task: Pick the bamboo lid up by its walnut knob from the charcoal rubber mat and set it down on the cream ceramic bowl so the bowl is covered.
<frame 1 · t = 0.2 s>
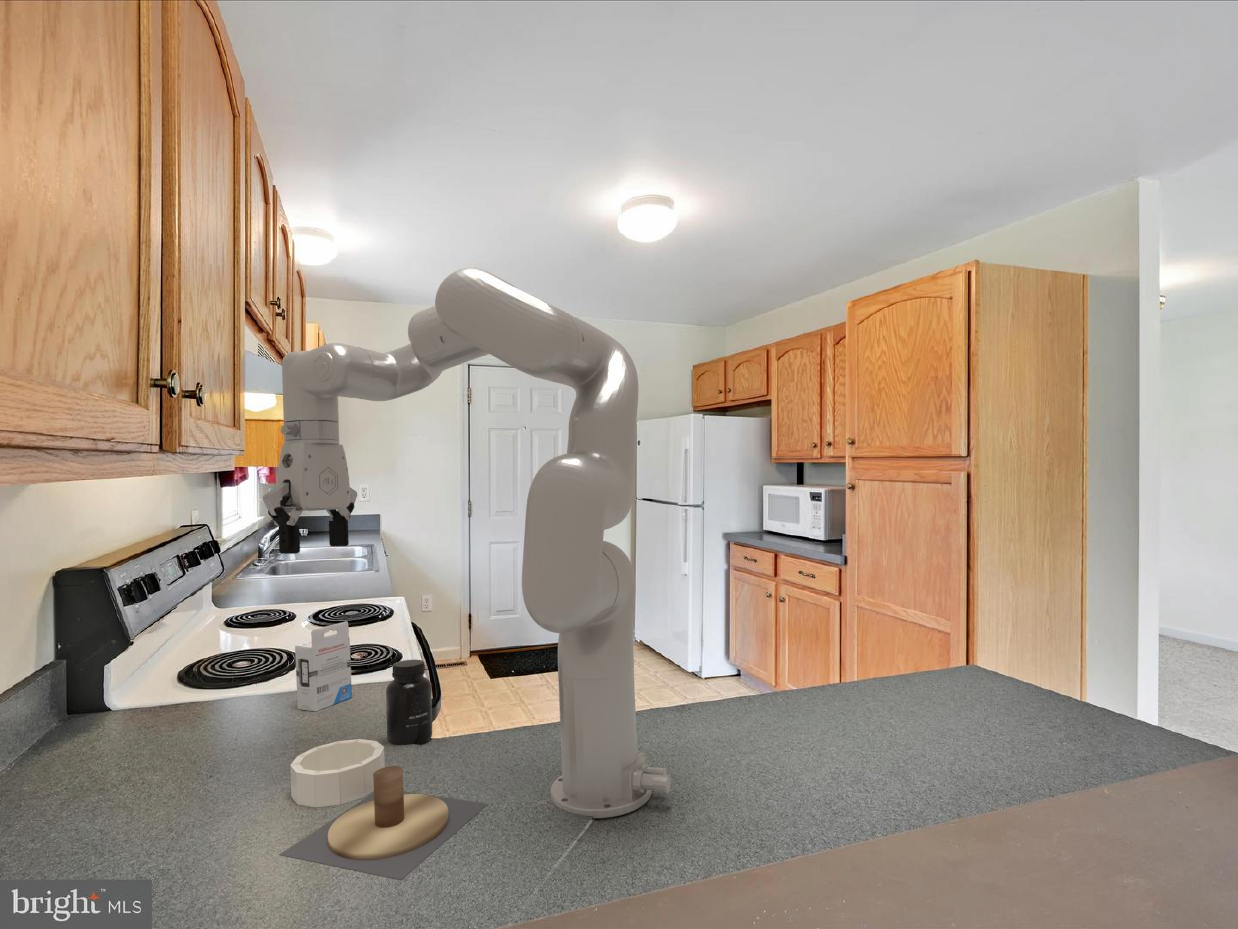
hand: (315, 549, 99), 31 cm above the counter, fingers open, 9 cm apart
mat: (390, 833, 76), on the counter
bowl: (339, 790, 88), on the counter
lid: (390, 827, 76), point 1 cm above the counter, touching mat
ink box: (325, 704, 124), on the counter
supplement bottle: (410, 741, 104), on the counter
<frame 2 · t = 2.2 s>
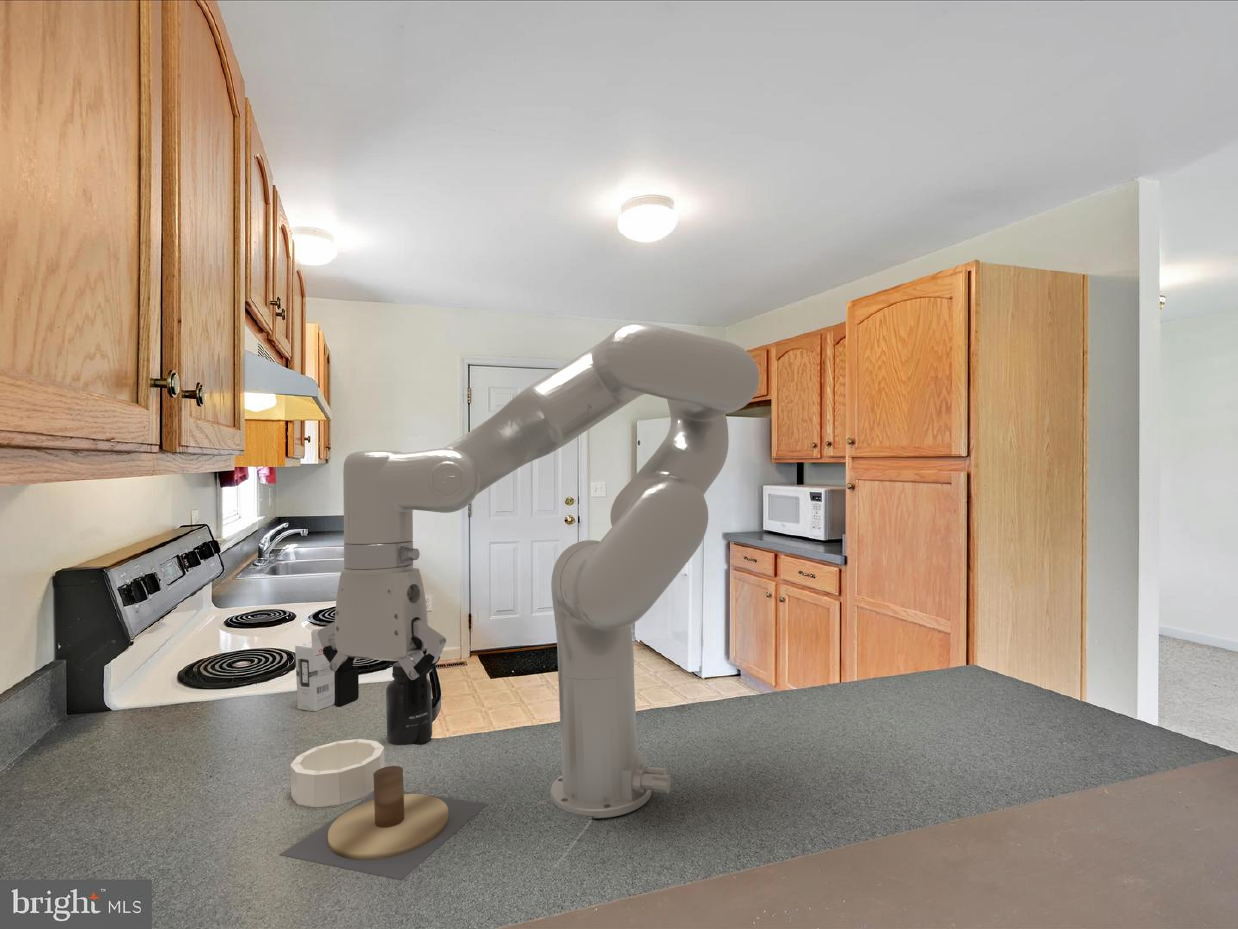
hand: (380, 707, 76), 14 cm above the counter, fingers open, 9 cm apart
nothing on the counter moved.
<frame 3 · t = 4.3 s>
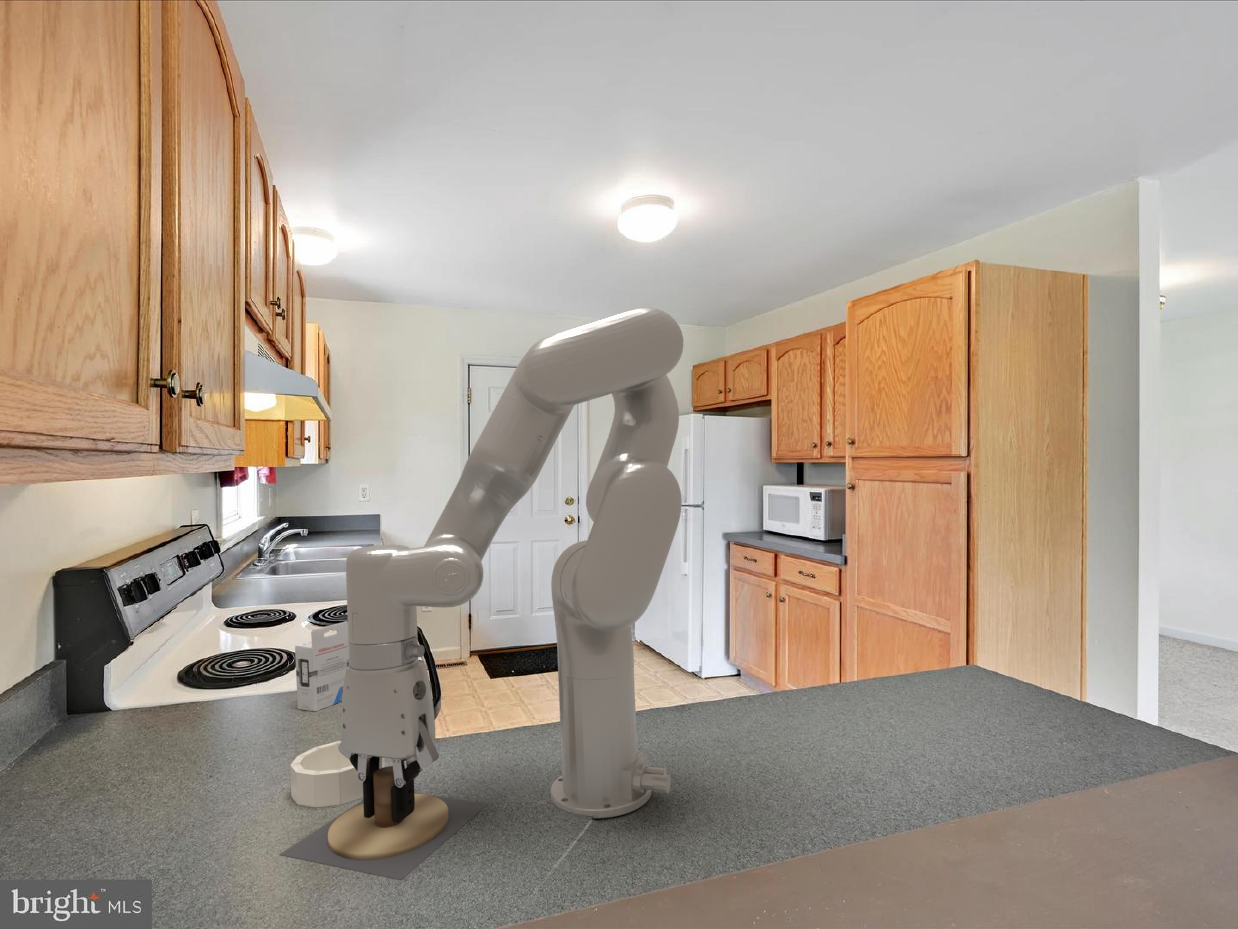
hand: (389, 813, 76), 2 cm above the counter, fingers closed on lid, 3 cm apart
lid: (390, 827, 76), point 1 cm above the counter, touching gripper, mat
everything else where it was.
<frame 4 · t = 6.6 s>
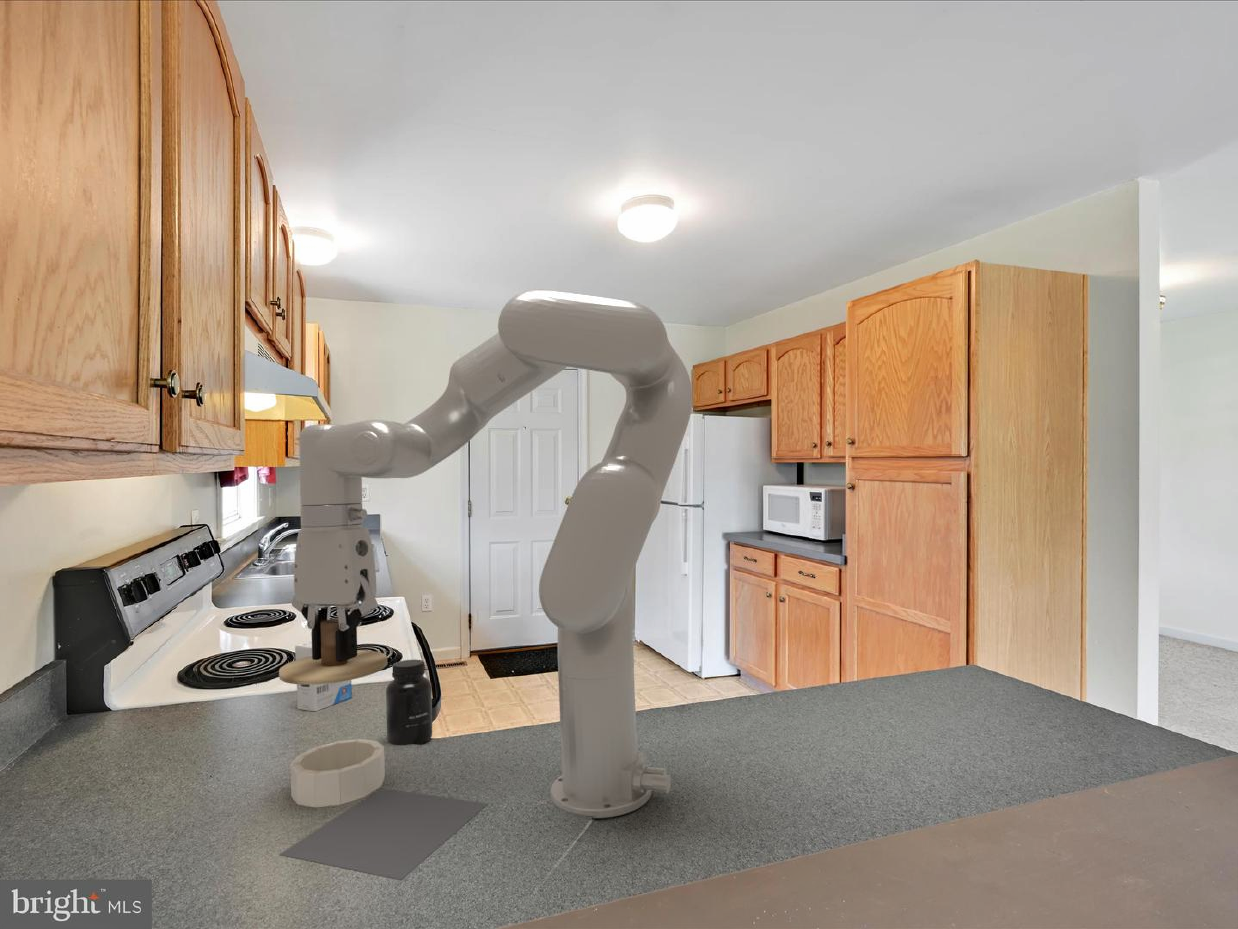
hand: (334, 656, 87), 18 cm above the counter, fingers closed on lid, 3 cm apart
lid: (334, 669, 87), point 16 cm above the counter, touching gripper
everything else where it was.
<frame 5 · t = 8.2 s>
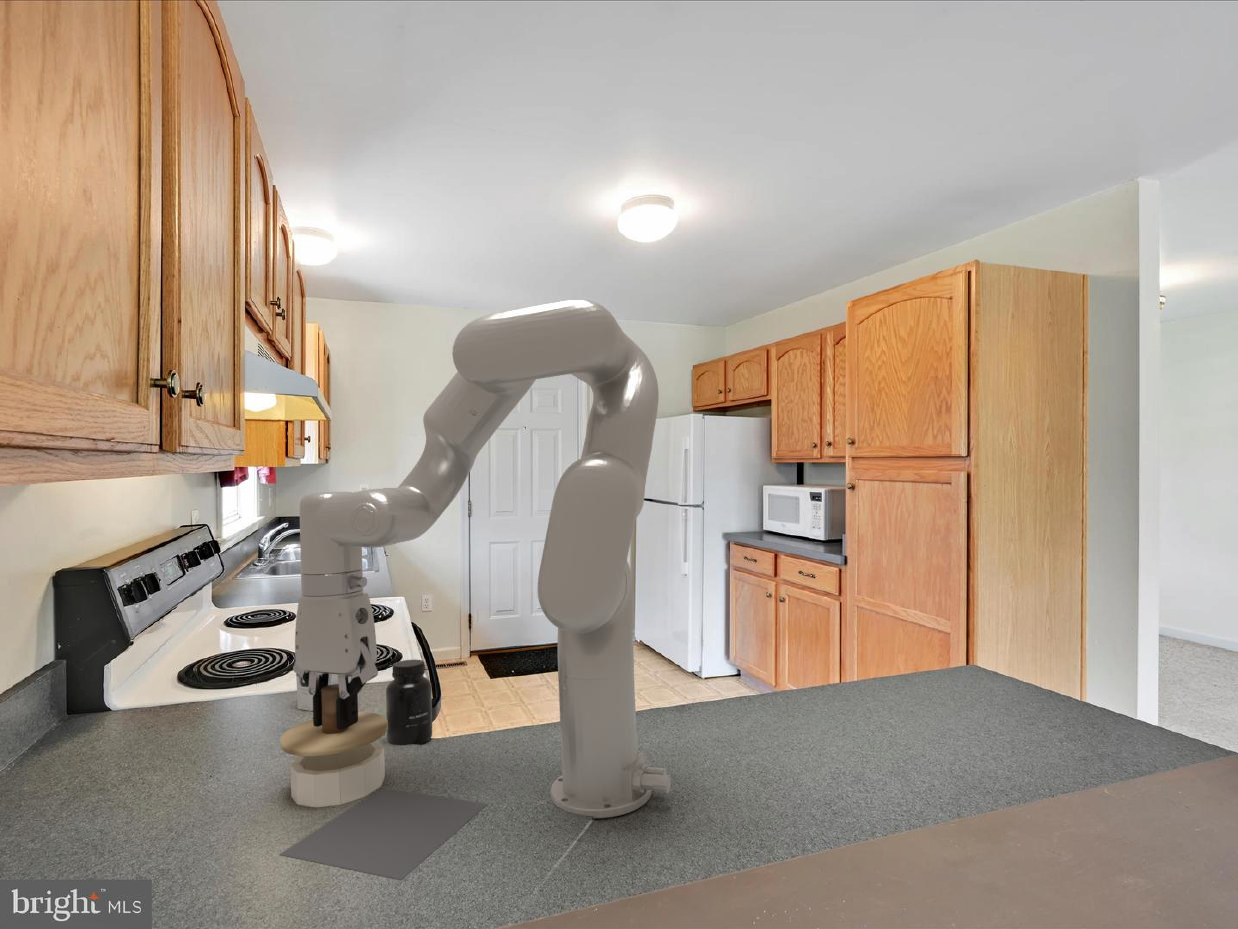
hand: (335, 723, 88), 9 cm above the counter, fingers closed on lid, 3 cm apart
lid: (335, 735, 88), point 7 cm above the counter, touching gripper
everything else where it was.
when the fingers open (7 cm above the counter, at t = 9.2 s): lid drops 1 cm, resting on bowl.
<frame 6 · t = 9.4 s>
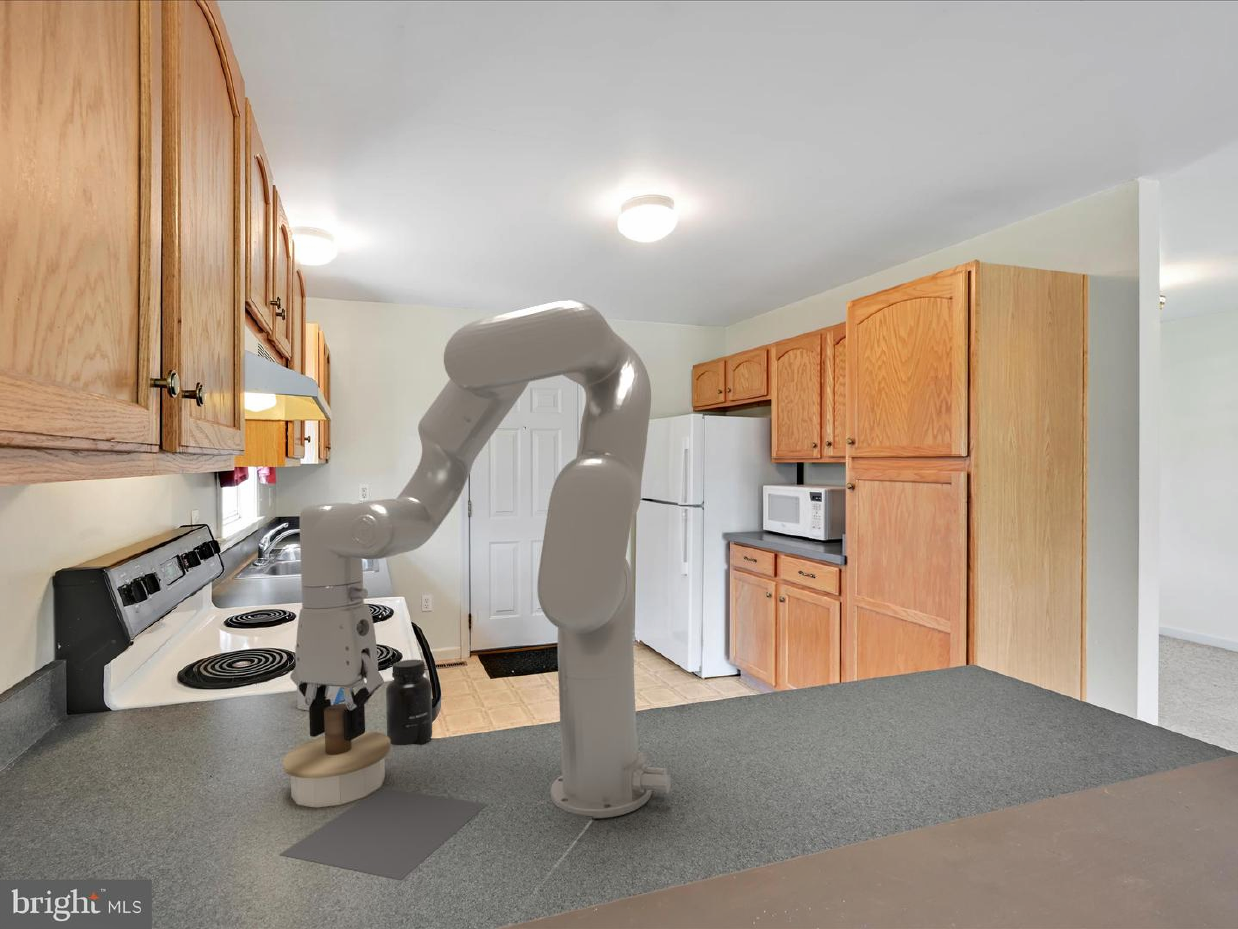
hand: (337, 733, 88), 7 cm above the counter, fingers open, 5 cm apart
lid: (338, 756, 88), point 4 cm above the counter, touching bowl
everything else where it was.
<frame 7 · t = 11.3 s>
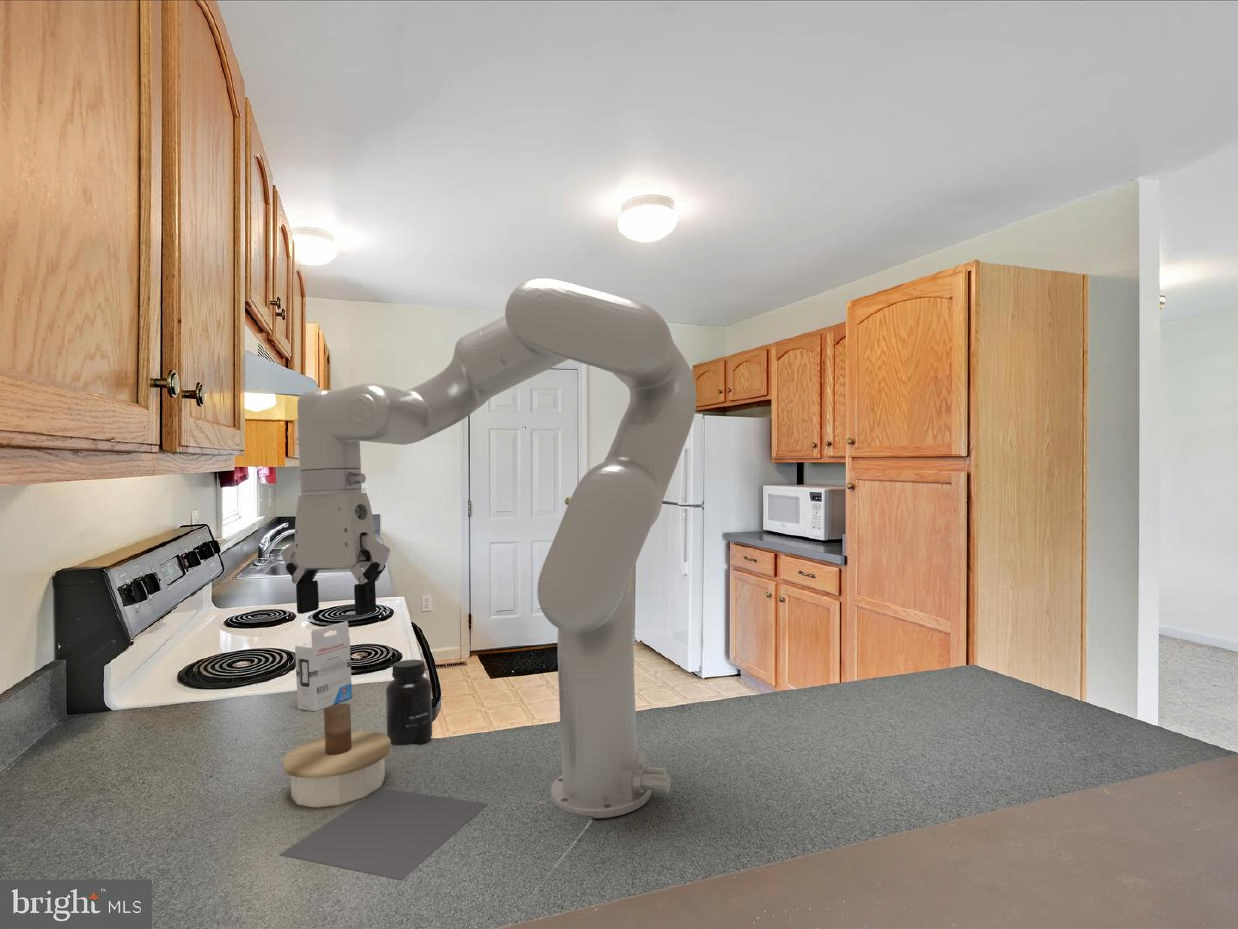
hand: (336, 612, 88), 23 cm above the counter, fingers open, 9 cm apart
nothing on the counter moved.
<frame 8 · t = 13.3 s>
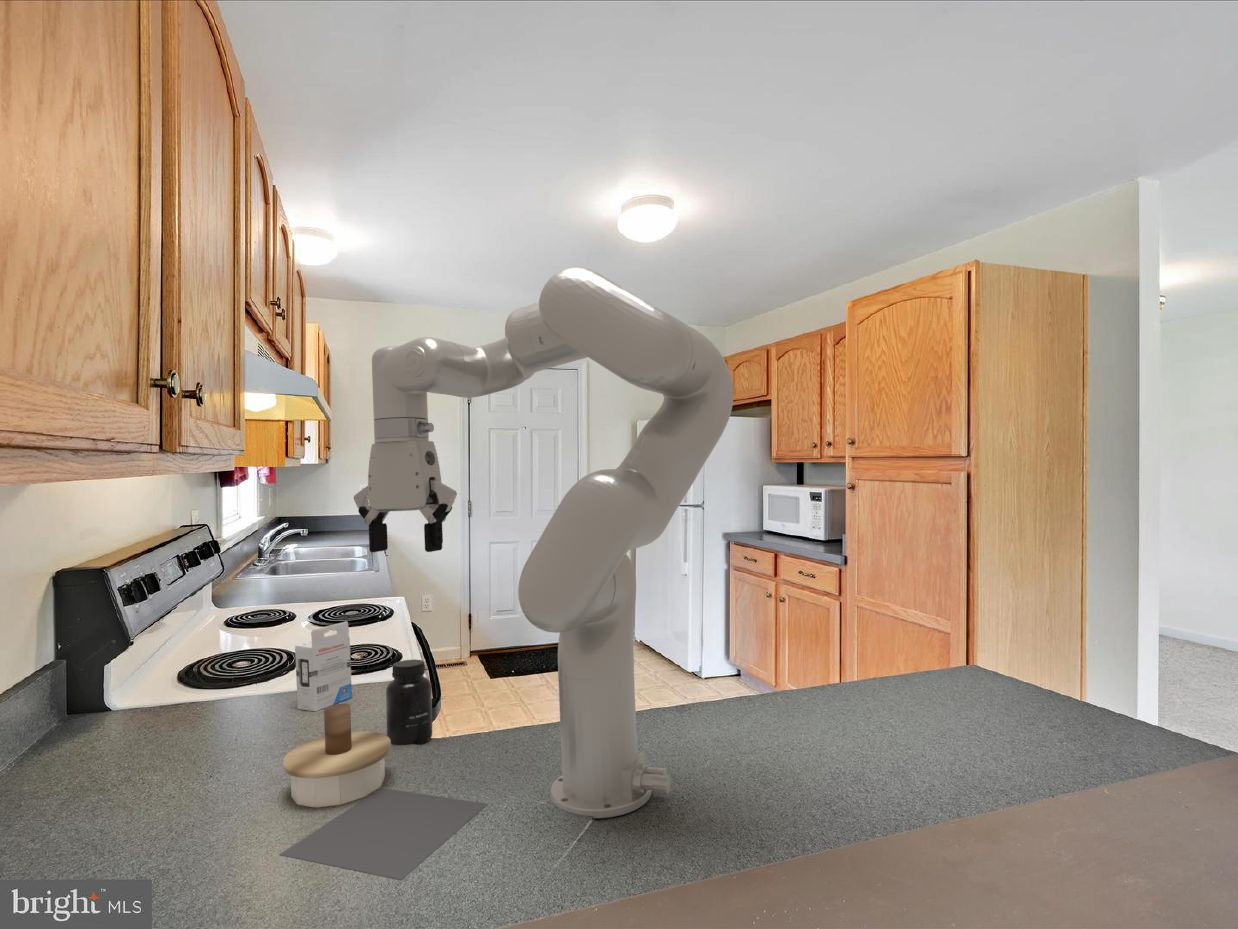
hand: (405, 551, 96), 30 cm above the counter, fingers open, 9 cm apart
nothing on the counter moved.
at the end: lid 0.1 cm off-centre on the bowl, point 4.5 cm above the bowl's base; lid tilted 0°; the gripper is holding nothing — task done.
